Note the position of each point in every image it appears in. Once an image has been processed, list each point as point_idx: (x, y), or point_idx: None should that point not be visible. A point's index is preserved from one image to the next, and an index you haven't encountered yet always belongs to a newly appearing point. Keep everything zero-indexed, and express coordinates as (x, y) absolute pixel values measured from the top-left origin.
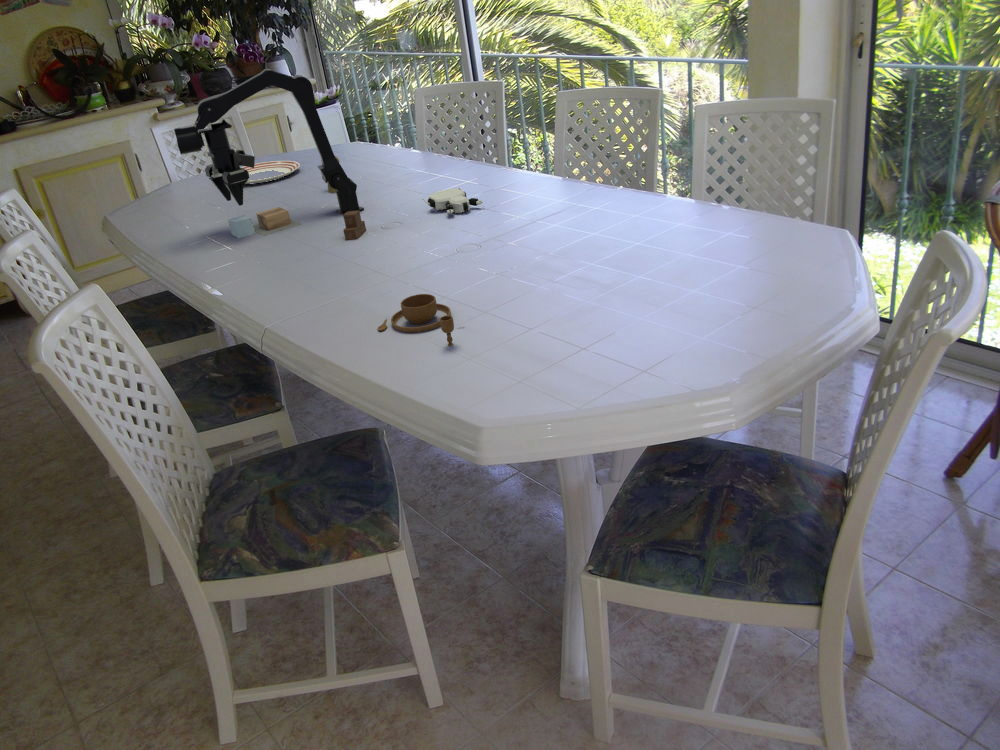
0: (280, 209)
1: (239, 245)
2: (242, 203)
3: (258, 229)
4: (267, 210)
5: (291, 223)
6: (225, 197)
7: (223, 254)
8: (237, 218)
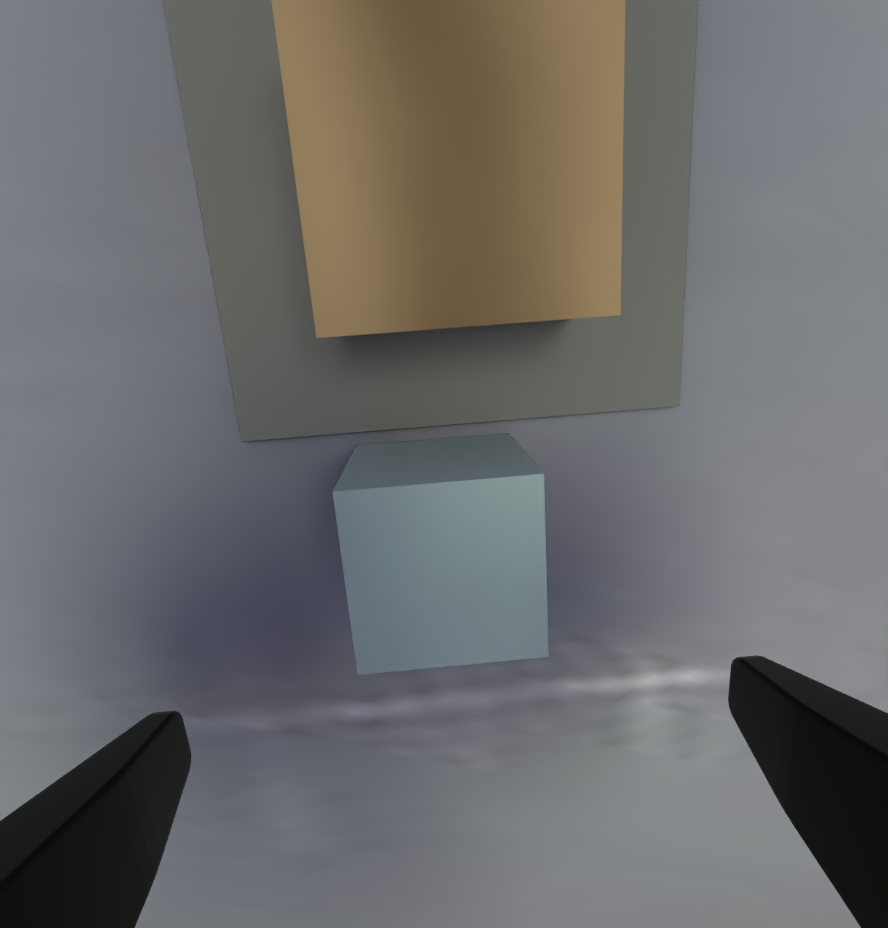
0: (445, 3)
1: (685, 610)
2: (780, 673)
3: (426, 375)
4: (310, 170)
5: None
6: (163, 846)
7: None
8: (419, 591)
